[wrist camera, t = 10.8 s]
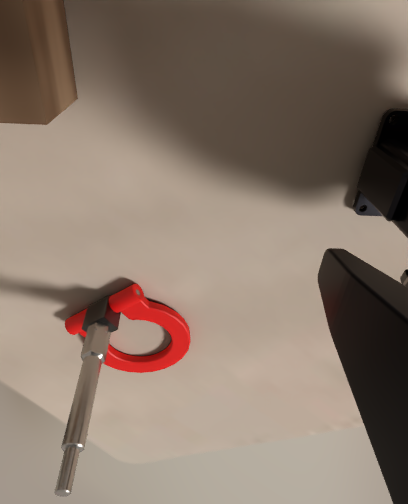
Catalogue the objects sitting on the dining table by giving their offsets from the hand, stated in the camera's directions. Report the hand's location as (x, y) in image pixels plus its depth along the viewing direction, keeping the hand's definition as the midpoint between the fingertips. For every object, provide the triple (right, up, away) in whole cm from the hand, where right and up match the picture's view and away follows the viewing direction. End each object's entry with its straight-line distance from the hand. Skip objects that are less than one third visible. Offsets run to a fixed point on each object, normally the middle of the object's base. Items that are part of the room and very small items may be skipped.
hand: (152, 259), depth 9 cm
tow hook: (-4, -6, +20) cm, 22 cm away
